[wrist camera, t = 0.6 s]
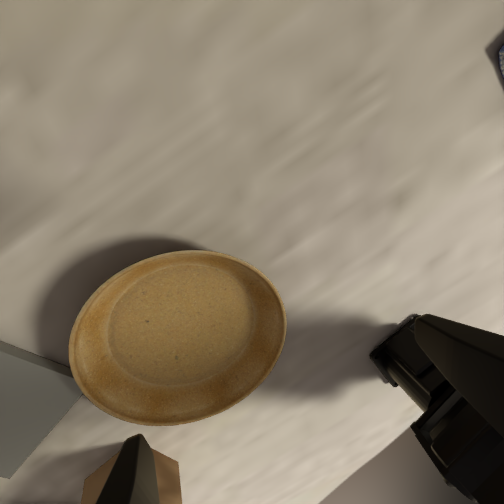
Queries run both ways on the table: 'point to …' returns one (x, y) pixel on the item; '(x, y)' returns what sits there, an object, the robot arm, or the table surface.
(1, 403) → the slate coaster
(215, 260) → the plant saucer
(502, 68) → the dish towel
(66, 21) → the table surface
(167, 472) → the walnut block
